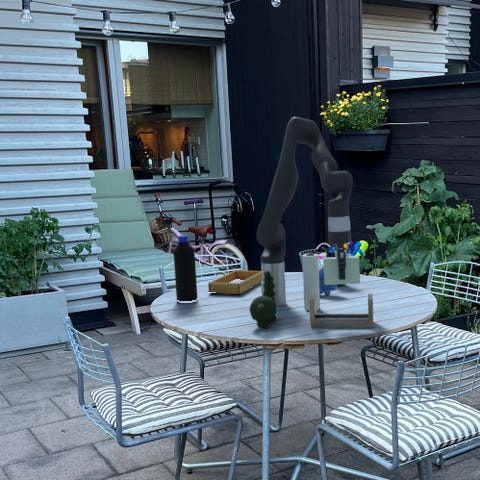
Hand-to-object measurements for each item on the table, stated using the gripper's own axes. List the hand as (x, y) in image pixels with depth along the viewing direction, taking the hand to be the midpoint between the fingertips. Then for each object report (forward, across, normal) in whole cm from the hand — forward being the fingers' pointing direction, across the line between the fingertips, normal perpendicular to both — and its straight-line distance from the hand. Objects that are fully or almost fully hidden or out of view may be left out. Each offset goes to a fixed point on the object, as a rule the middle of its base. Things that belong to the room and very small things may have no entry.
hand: (341, 278), depth 216 cm
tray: (+15, +64, +43) cm, 79 cm away
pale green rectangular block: (+2, 0, 0) cm, 2 cm away
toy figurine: (+16, +2, +28) cm, 32 cm away
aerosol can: (+15, +62, -1) cm, 64 cm away
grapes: (+16, +44, +4) cm, 47 cm away
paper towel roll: (+16, +20, +10) cm, 28 cm away
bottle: (+15, +39, +62) cm, 75 cm away
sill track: (+16, -3, +1) cm, 16 cm away
